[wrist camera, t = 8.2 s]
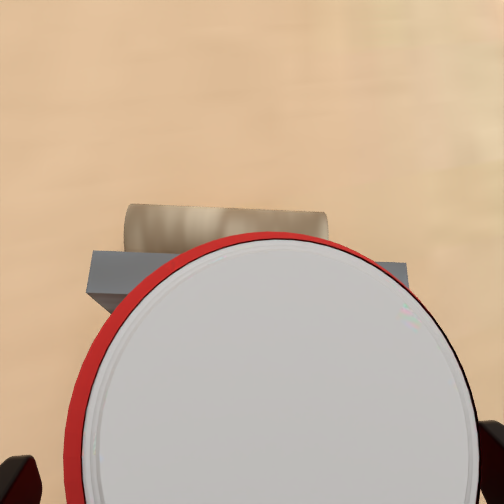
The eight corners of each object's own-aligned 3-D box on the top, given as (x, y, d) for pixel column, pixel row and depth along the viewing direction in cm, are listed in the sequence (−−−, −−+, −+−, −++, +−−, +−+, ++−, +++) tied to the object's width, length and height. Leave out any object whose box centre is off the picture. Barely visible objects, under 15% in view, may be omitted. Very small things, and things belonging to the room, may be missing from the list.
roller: (317, 276, 23) (329, 257, 20) (133, 269, 23) (120, 248, 20) (315, 226, 24) (327, 202, 21) (140, 219, 24) (128, 193, 21)
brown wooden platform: (395, 709, 17) (532, 950, 9) (63, 712, 16) (-80, 973, 9) (364, 313, 22) (433, 264, 15) (119, 305, 22) (63, 249, 14)
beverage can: (129, 440, 15) (-124, 516, 4) (226, 304, 17) (225, 116, 6) (268, 546, 15) (407, 1004, 3) (352, 390, 17) (616, 348, 5)
